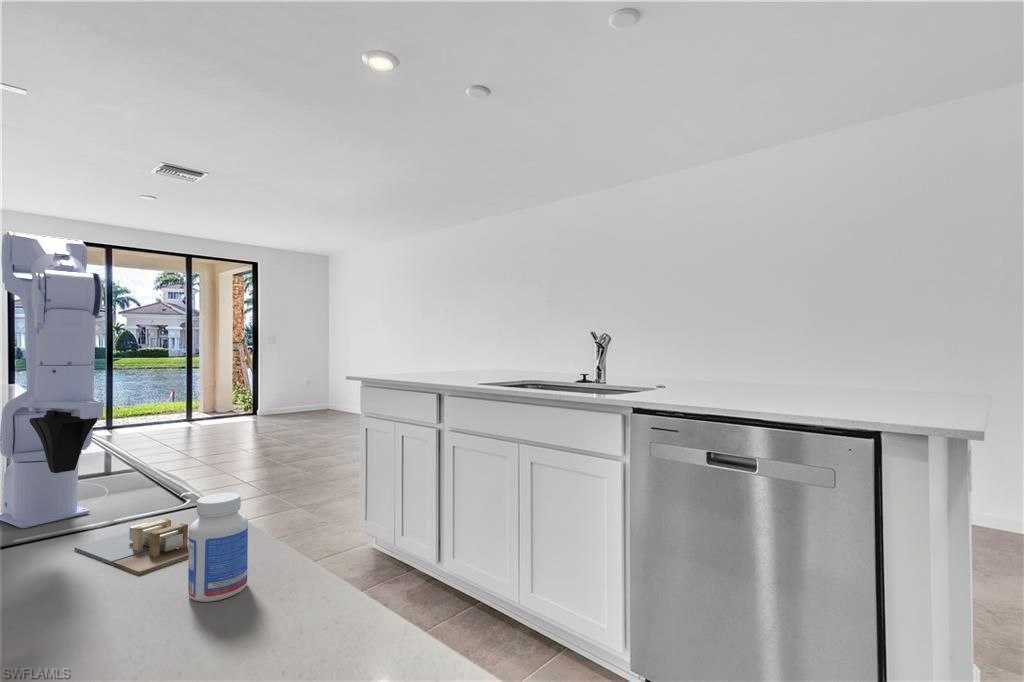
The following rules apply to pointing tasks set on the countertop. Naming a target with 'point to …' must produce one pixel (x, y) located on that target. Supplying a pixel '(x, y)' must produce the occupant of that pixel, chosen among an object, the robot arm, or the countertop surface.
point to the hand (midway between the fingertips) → (62, 471)
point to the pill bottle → (218, 548)
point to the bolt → (161, 538)
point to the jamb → (156, 553)
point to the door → (120, 544)
